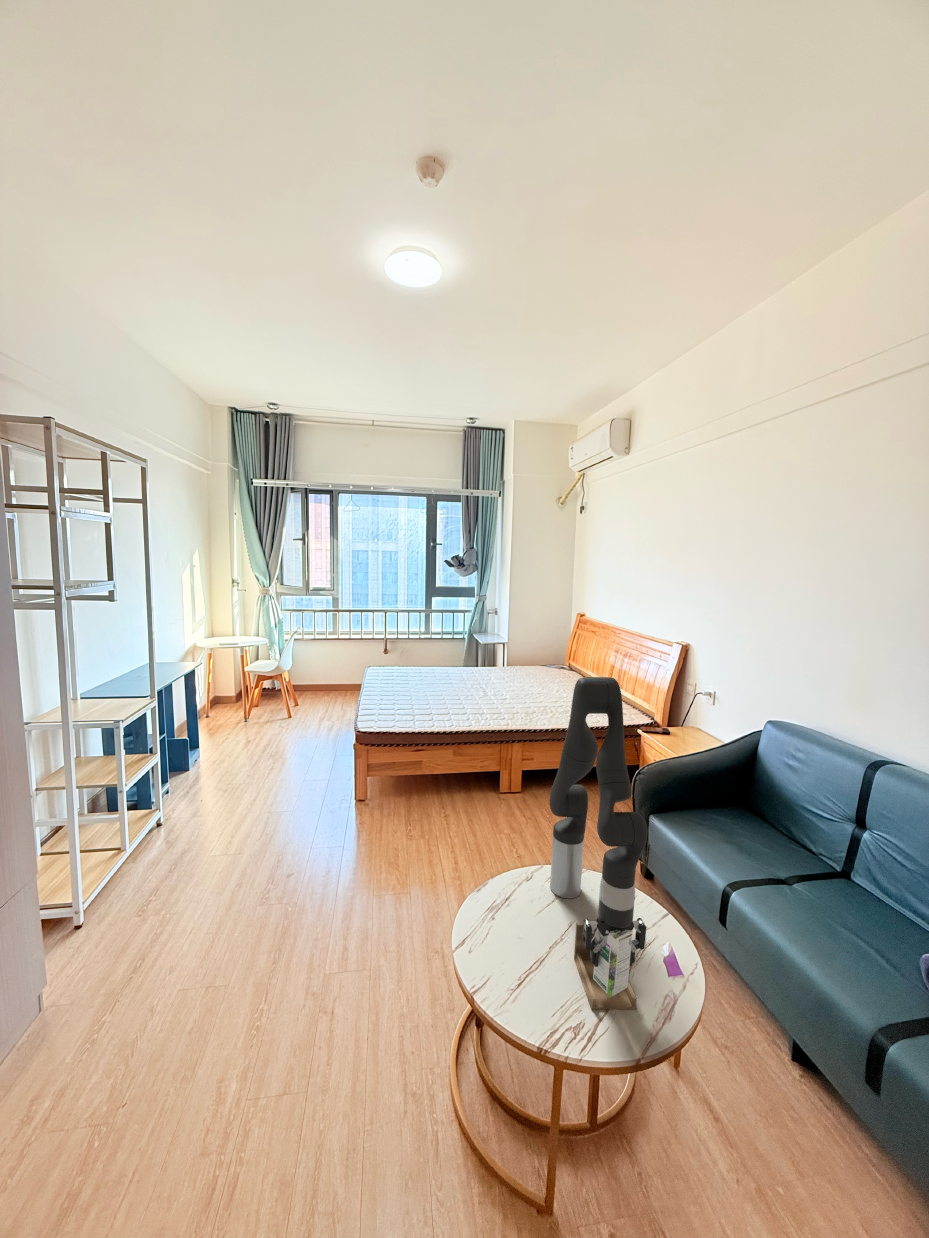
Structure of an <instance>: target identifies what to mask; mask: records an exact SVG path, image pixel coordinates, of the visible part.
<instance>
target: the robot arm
mask: <svg viewBox="0 0 929 1238" xmlns="http://www.w3.org/2000/svg"><path fill="white" fill-rule="evenodd" d="M573 688H574V689H573V695H572V701H571V707H570V708H571V709H570V717H569V721H568V726H567V731H566V735H565V738H564V741H563V746H562V750H561V755H560V760H559V764H558V770H557V773H556V775H555V778H554V781H553V784H552V786H551V789H550V794H549V808H550V811H551V813H552V814H553V815H554V816H556V817H559V818H563V819H560V820H558V821H557V822H555V823H554V825H553V828H552V843H551V844H552V845H551V846H552V847H551V862H550V864H551V865H550V880H549V888H550V890H551V892H552V893H553V894H555V896H558V898H559V897H560V898H563V899H574V898H577V897H579V895H580V894H581V888H582V887H581V885H582V873H583V861H584V860H583V857H584V843H585V833H586V824H587V817H588V811H589V809H588V808H589V794H588V791H587V788H586V787H585V786H584V785H582V784H576V783H578V782H579V781H580V780H582V779H583V778H584V777H585V776H587V775H588V774H589V773H590V772H591V771H592V769H593V768H594V765H596V766H595V770H596V775H597V776H596V777H597V783H598V789H599V805H598V816H597V822H596V826H597V827H596V831H597V835H598V838H599V840H600V841H601V842H602V844H604V845H605V846H607V847H611V849H608V850H607V851H605V853H604V854H603V858H602V869H601V871H602V873H601V879H600V885H599V894H598V895H599V899H598V911H597V914H598V915H597V918H596V919H595V920H591V921H590V920H589V919H588V918H584V919H583V922H584V923H583V943H584V945H585V948H586V950H588V951H589V950H590V959H591V961H592V964H594V966H595V967H598V962H599V950H600V949H601V947H602V946H603V947H604V946H605V945H606V944H607V937H608V936H609V933H615V932H614V930H620V932H621V933H626V932H625V930H632V931H634V929H635V936H634V937H635V938H634V939H632V941H631V940H630V938H629V946H630V945H631V955H630V966H629V967H632V966H633V964H634V963H635V962H636V960H635V959H636V952H637V950H644V949H645V947H646V945H645V944H646V935H647V926H646V924H645V922H644V921H643V919H642V917H638V918H637V919H636V920H634V913H635V912H634V911H635V910H634V909H635V900H636V886H635V884H636V882H635V881H636V870H637V865H638V863H639V861H640V858H641V855H642V853H643V850H644V848H645V846H646V843H647V839H648V825H647V822H646V820H645V819H644V817H643V815H641V814H640V813H639V812H635V811H614V809H615V805H616V804H617V803H620V802H624V801H628V800H630V798H632V794H633V793H632V786H631V782H630V781H631V780H630V775H629V772H628V771H629V769H628V764H627V760H626V751H625V750H626V749H625V731H624V730H625V729H624V727H625V726H624V712H623V711H624V710H623V708H624V707H623V698H622V697H623V696H622V690H621V687H620V684H619V682H618V680H617V679H616V678H614V677H609V676H584V677H583V676H582V677H579V678H578V679H577V680H576V682H575V684H574V687H573ZM591 714H597V715H600V714H601V715H607V723H608V726H607V731H606V734H605V736H604V739H603V742H602V744H601V746H600V748H599V744H598V741H597V739H596V736H595V734H594V732H592V730H591V728H590V727H589V725H588V723H587V717H588V715H591ZM595 763H596V764H595ZM612 847H613V848H612ZM595 928H598V930H599V931H600V933H601V934H602V935H603V938H602V939H601V937H600V936H599V935H598V933H597V931H596V932H595V936H594V937H593V938H592V934H593V933H594V929H595ZM607 930H608V932H609V933H606V931H607ZM591 938H592V940H591Z"/></svg>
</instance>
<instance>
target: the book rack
mask: <svg viewBox="0 0 929 1238" xmlns="http://www.w3.org/2000/svg"><path fill="white" fill-rule="evenodd" d="M575 923H576V924H575V925H576V926H575V939H574V953H573V961H574V964H575V966H576V969H577V973H578V974H579V978H580V980H581V983H582V987H583V990H584V992H585V995H586V998H587V999H586V1000H587V1001H588V1005H589V1007H590V1010H591V1011H594V1010H596V1011H598V1010H599V1011H600V1010H605V1011H606V1010H635V1009H636V1010H637V997H636V995H635V993H634V990H633V988H632V986H631V983H630V981H629V980H628V987H627V988H626V989H624V990H622V991H621V992H619V993H617V994H616V995H614V996H612V997H610V996H609V995H608V994H607V993H606V992H605V991H604V990H603V989H602V988H601V987H600V986H599V985H598V983H597V982H596V981H594V979H593V973H594V964H592V961H591V959H590V950H589V951H588V950H586V948H585V945H584V943H583V923H584V921H577V922H575ZM596 931H597V928H595V929H594V933H593V934H592V938H593V937H594V936H595V932H596ZM592 938H591V940H592Z"/></svg>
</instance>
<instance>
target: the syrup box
mask: <svg viewBox="0 0 929 1238" xmlns="http://www.w3.org/2000/svg"><path fill="white" fill-rule="evenodd" d="M614 932H615V933H609V932H608V930H607V931H606V933H609V936H608V937H607V944H606V945H605V946H604V947H603V946H602V947H601V949H600V950H599V962H598V967H595V966H594V973H593V979H594V981H596V982H597V983H598V985H599V986H600V987H601V988H602V989H603V990H604V991H605V992H606V993H607V994H608V995H609V996H610V997H612V996H614V995H616V994H617V993H619V992H621V991H622V990H624V989H626V988H627V987H628V981H629V975H630V974H629V973H630V967H631V966H630V955H631V945H630V946H629V938H630V940H631V941H632V940H633V930H625V932H626V933H621V932H620V930H614ZM597 933H598V935H599V936H600V937H601V939H602V938H603V935H602V934H601V933H600V931H599V930H598V928H597Z"/></svg>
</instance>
